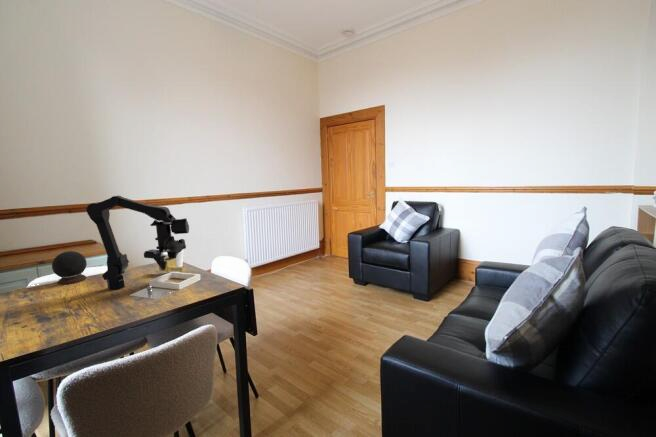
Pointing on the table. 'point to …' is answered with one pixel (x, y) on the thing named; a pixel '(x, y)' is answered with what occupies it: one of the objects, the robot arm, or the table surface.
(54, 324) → the table surface
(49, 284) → the table surface
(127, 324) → the table surface
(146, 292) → the stud plate
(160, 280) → the bin
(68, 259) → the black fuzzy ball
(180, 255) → the cup
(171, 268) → the strut
